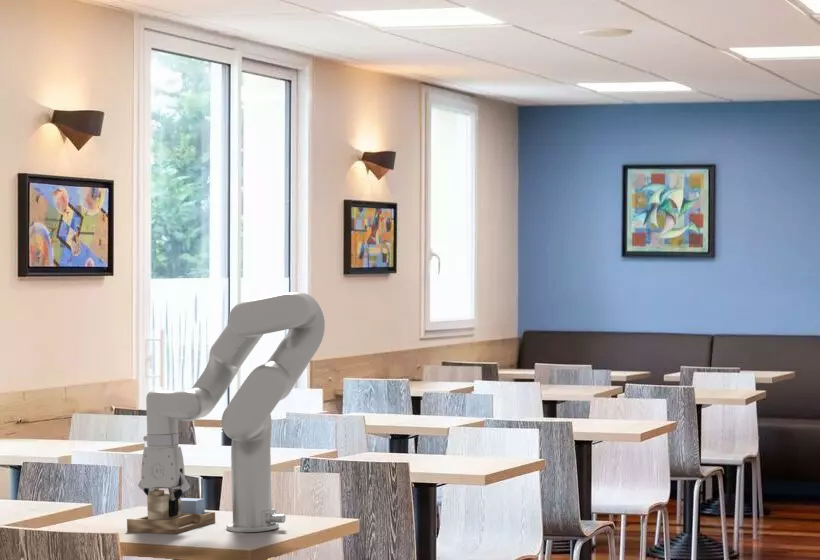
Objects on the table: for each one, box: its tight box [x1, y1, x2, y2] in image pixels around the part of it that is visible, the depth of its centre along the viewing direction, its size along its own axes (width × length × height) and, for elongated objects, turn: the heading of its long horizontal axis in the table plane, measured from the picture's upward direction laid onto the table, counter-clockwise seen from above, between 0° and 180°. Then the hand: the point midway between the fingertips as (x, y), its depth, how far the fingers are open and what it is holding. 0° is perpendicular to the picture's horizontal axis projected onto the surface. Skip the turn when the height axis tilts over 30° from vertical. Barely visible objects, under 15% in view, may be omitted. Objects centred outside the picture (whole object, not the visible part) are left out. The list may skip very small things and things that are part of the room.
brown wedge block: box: [146, 489, 182, 520], centre depth 351 cm, size 4×9×7 cm, turn 157°
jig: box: [126, 511, 216, 535], centre depth 354 cm, size 14×18×3 cm
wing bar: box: [181, 497, 206, 515], centre depth 359 cm, size 10×4×5 cm, turn 67°
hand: (164, 514), depth 351 cm, fingers closed on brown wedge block, 4 cm apart
